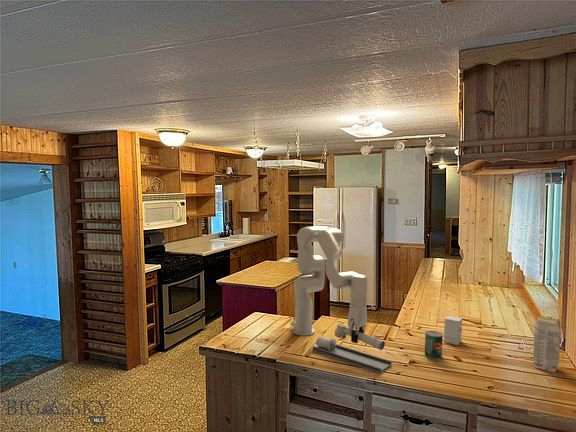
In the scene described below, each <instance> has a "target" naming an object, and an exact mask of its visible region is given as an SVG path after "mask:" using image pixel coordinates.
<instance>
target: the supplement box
mask: <svg viewBox="0 0 576 432" xmlns="http://www.w3.org/2000/svg"><path fill="white" fill-rule="evenodd" d="M443 330H444V331H443V342H444V343H447V344H450V345H451V344H452V345H456V346H458V345H459V344H460V343H461V342H462V332H463V318H462V317H458V316H457V317H456V316H453V315H452V316H451V315H447V317H445V318H444V329H443Z"/></svg>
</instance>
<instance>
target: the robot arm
mask: <svg viewBox="0 0 576 432" xmlns="http://www.w3.org/2000/svg"><path fill="white" fill-rule="evenodd" d="M344 239H345V237H344V234H343V232H342V230H340V229H338V228H335V227H329V226H304V227H302V228H300V229H299V230H298V231H297V235H296V241H297V248H298V251H297V270H298V273H300V274H304V275H299V276H298V277H296V278H295V279H294V282H293V286H294V293H295V310H294V311H295V313H294V314H295V315H294V317H295V319H294V321H293V320H292V321H290V325H289V326H292V327H293V328H292V331H291V332H292V333H293V334H295V335H298V336H312V335H314V334H315V333H316V330H315V328H313V302H314V301H313V298H312V296H311V294H310V293H315V292H320V291H323V289H324V287H325V281H326V279H325V277H327V279H328V281H329V282H330V284H331V286H332V287H333V288H334V289H336V290H344V289H345V290H346V289H350V295H349V296H350V297H349V298H350V299H349V309H348V317H347V327H348V328H349V330H350V332H351V336H350V342H351V343H354V344H358V343H359V340H358V335H357V332H361V333H364V334H365V330H366V329H365V328H366V325H367V322H368V320H367V319H368V312H367V311H368V310H367V309H368V308H367V305H368V304H367V302H368V277H367V276H366V275H364V274H359V273H357V272H356V271H344V272H338V270H337V268H336V266H335V263H336V262H337V261H339V260H340V259H341V258H342V257H343V253H344V252H343V250H342V248H341V247H340V245H341V244H342V243H344V241H345V240H344ZM312 243H318V244H319V246H320V248H321V250H322V251H323V254H324V256H325V258H326V263H325V260H324V258H323V257H322V256H321V255H316V254H315V253H314V251H315V248H314V246H313V244H312Z"/></svg>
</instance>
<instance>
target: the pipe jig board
mask: <svg viewBox="0 0 576 432" xmlns="http://www.w3.org/2000/svg"><path fill="white" fill-rule="evenodd" d="M315 343H316V344H315V345H316V346H312V352H313V353H316V354H320V355H322V356H325V357H328V358H331V359H335V360H337V361H340V362H343V363H346V364H349V365H351V366H356V367H359V368H361V369H364V370H367V371H370V372H373V373H376V374H379V375H381V374H382V373H384V372H385V371H387V370H388V369H389V368H390V366H391V367H392V360H389V359H385V358H383V357H380V356H376V355H373V354H370V353H367V352H363V351H360V350H356V349H354V348H350V347H347V346H343V345H340V344H337V340H336V339H335V338H334V337H333V338H328V337H324V336H320V335H319V336H318V337H317V338H316V342H315Z"/></svg>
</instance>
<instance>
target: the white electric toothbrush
mask: <svg viewBox="0 0 576 432" xmlns="http://www.w3.org/2000/svg"><path fill="white" fill-rule="evenodd" d="M357 335H358V341H361V342H362V343H365V344H366V345H369V346H371V347H372V348H374V349H377V350H380V351H383V350H384V348H385V344H386V343H385V341H384V340H382V339H379V338H378V337H375V336H372V335H370V334H369V335H368V334H367V333H365V332H364V333H361V332H357ZM334 336H335V337H336V338H337V339H341V340H345V339H347V336H350V337H351V332H350V330H349V327H348V326H346V325H345V324H344V323H338V324H337V325H336V328H334Z"/></svg>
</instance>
